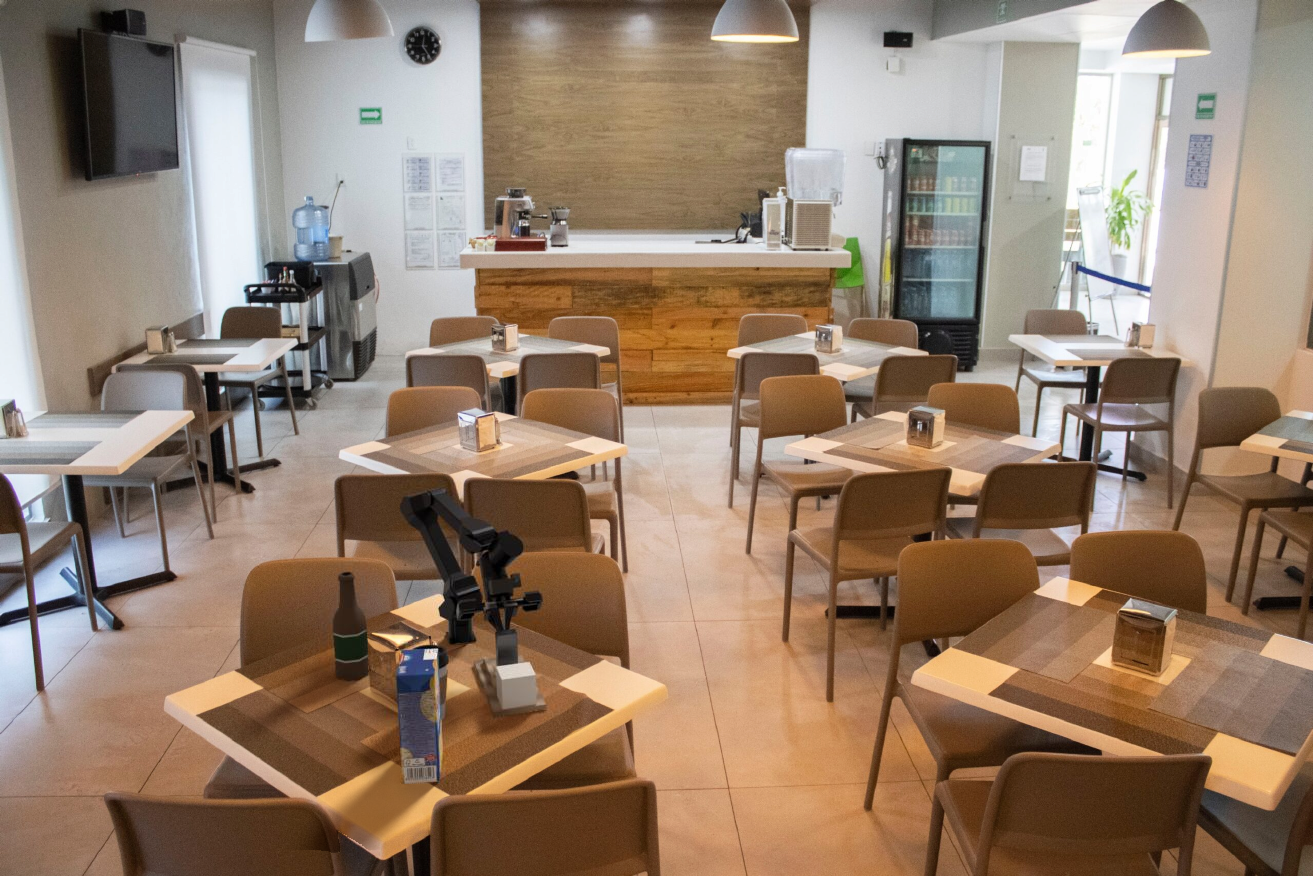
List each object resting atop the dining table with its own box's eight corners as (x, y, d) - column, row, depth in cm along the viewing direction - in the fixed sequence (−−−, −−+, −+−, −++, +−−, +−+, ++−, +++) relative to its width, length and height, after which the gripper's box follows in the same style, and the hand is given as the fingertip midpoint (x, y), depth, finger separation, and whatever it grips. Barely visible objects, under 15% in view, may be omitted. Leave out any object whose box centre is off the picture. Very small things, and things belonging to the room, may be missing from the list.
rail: (474, 665, 253) (473, 655, 253) (521, 659, 257) (521, 648, 256) (494, 717, 230) (494, 706, 230) (546, 709, 234) (546, 698, 233)
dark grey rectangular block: (496, 677, 245) (495, 631, 242) (516, 674, 246) (515, 628, 243) (505, 697, 236) (503, 649, 233) (525, 694, 237) (524, 647, 234)
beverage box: (442, 751, 218) (438, 648, 212) (439, 781, 207) (434, 674, 202) (407, 753, 217) (401, 649, 211) (402, 784, 206) (396, 676, 201)
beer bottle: (375, 666, 253) (369, 567, 246) (363, 682, 245) (356, 581, 239) (342, 664, 253) (335, 566, 247) (329, 680, 246) (322, 579, 240)
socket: (497, 695, 237) (496, 666, 235) (530, 690, 239) (529, 661, 238) (502, 709, 231) (501, 679, 230) (536, 704, 234) (535, 674, 232)
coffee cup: (429, 731, 225) (425, 663, 221) (401, 718, 230) (397, 652, 226) (459, 715, 231) (457, 649, 228) (432, 702, 236) (429, 638, 233)
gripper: (456, 566, 241) (466, 633, 234) (540, 556, 247) (553, 622, 240) (451, 587, 250) (462, 652, 243) (533, 577, 256) (545, 640, 249)
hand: (505, 641), depth 243 cm, fingers closed, pressing on dark grey rectangular block
